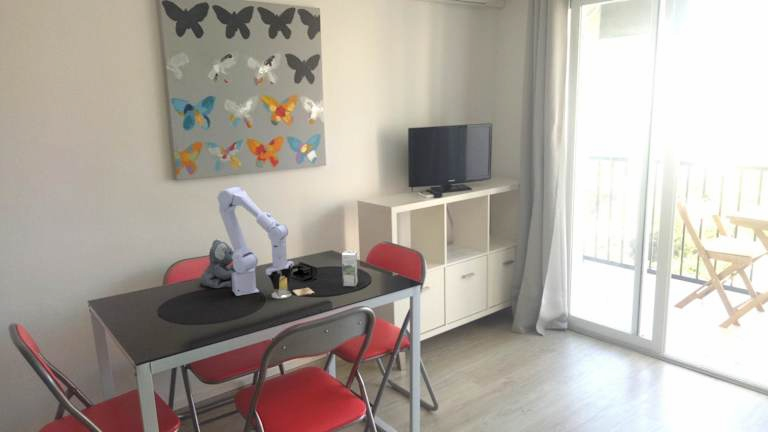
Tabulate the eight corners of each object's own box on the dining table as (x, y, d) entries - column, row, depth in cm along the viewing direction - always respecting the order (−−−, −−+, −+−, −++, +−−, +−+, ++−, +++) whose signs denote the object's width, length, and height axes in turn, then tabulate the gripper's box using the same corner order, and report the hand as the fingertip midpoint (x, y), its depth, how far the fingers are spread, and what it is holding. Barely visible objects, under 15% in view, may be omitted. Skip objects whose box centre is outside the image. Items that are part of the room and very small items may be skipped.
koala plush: (245, 286, 234) (242, 242, 230) (202, 292, 228) (198, 247, 224) (240, 275, 250) (237, 234, 246) (199, 280, 243) (196, 238, 239)
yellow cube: (281, 290, 219) (281, 279, 218) (272, 288, 221) (271, 277, 220) (289, 287, 223) (289, 276, 222) (280, 285, 225) (280, 274, 224)
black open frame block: (318, 279, 243) (317, 264, 241) (305, 283, 238) (304, 268, 237) (305, 274, 250) (304, 260, 248) (292, 278, 245) (291, 263, 244)
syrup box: (357, 282, 237) (357, 250, 234) (355, 287, 232) (355, 254, 229) (344, 282, 238) (343, 250, 235) (342, 286, 232) (341, 254, 229)
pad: (298, 296, 221) (298, 295, 221) (292, 291, 227) (292, 290, 227) (314, 293, 224) (314, 292, 224) (308, 288, 231) (308, 287, 230)
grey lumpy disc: (275, 300, 217) (274, 292, 217) (269, 294, 224) (268, 287, 224) (294, 296, 221) (293, 289, 220) (287, 290, 228) (287, 284, 227)
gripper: (274, 260, 211) (276, 293, 214) (298, 252, 223) (300, 283, 226) (261, 258, 215) (262, 290, 217) (285, 249, 227) (287, 280, 230)
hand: (281, 287), depth 222 cm, fingers closed on yellow cube, 5 cm apart
